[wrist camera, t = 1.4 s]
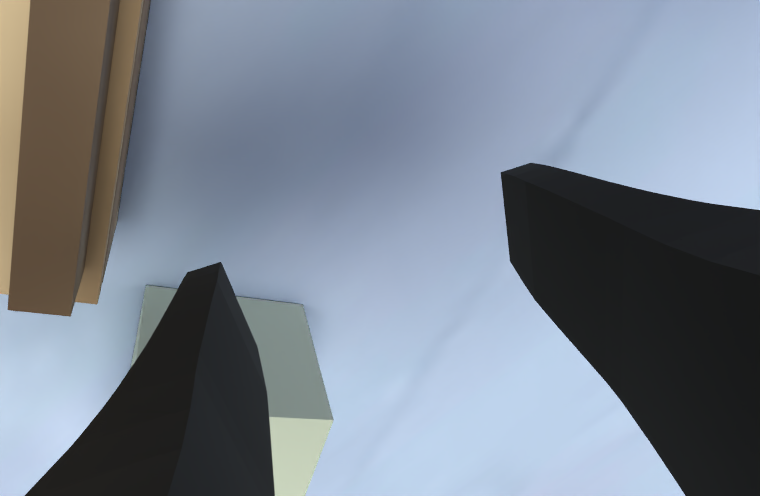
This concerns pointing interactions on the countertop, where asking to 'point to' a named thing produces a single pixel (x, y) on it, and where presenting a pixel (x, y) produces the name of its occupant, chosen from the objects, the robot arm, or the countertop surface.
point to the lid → (61, 144)
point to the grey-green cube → (273, 382)
